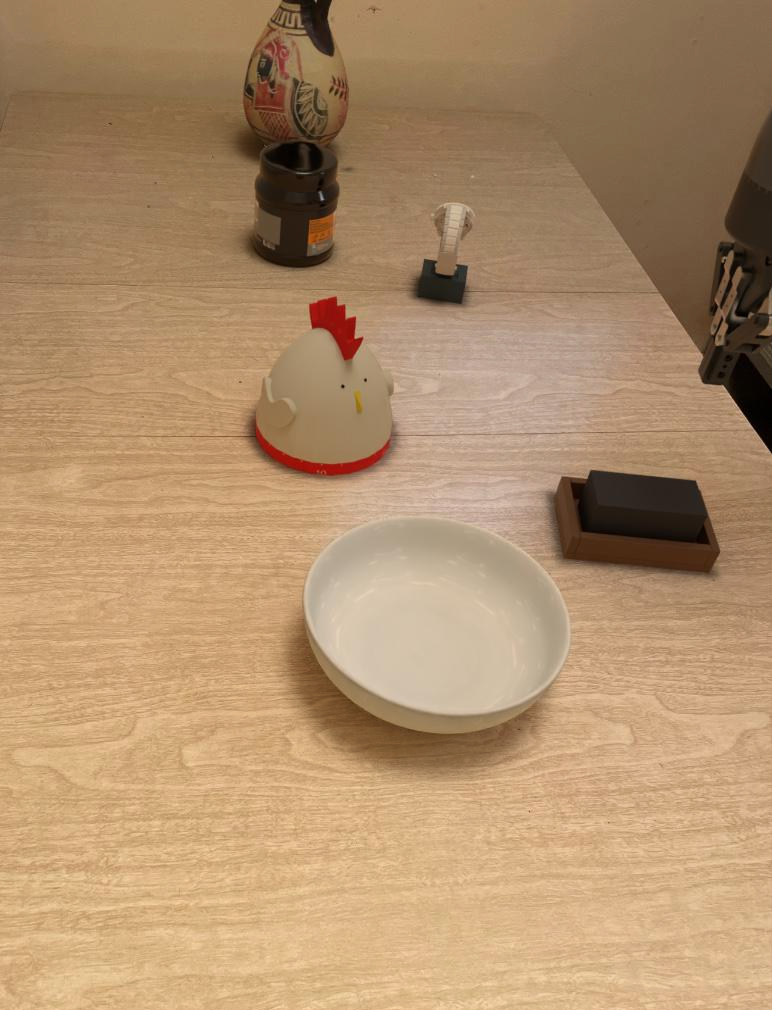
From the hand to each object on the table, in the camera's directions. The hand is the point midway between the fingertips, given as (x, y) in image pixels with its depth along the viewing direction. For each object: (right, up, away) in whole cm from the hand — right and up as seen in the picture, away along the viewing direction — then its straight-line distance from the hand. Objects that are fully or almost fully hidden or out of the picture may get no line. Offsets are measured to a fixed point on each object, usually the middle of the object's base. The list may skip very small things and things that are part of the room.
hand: (710, 379), depth 81 cm
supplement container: (-37, +27, +43) cm, 63 cm away
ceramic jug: (-37, +48, +64) cm, 88 cm away
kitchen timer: (-33, -2, +18) cm, 37 cm away
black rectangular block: (-3, -12, +10) cm, 16 cm away
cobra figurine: (-18, +20, +39) cm, 47 cm away
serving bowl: (-24, -24, -2) cm, 34 cm away
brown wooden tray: (-4, -13, +11) cm, 17 cm away
